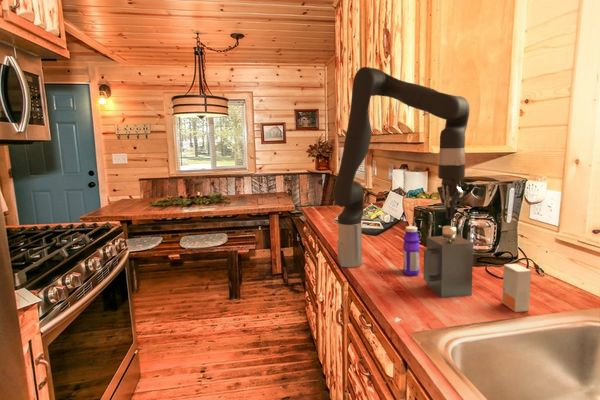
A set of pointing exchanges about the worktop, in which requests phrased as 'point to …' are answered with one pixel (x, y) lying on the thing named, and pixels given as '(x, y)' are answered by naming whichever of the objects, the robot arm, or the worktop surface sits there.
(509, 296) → the skincare box
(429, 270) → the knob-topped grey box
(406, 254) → the bottle
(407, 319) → the worktop surface
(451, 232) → the plunger
